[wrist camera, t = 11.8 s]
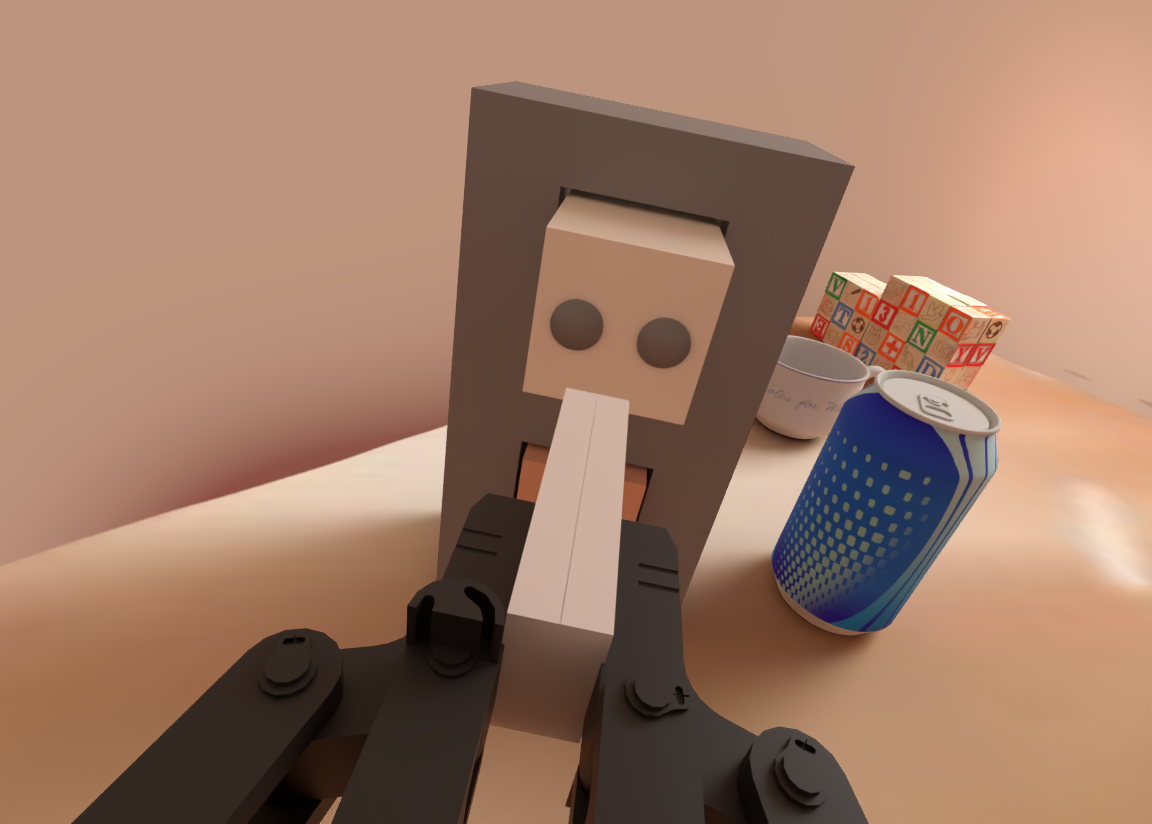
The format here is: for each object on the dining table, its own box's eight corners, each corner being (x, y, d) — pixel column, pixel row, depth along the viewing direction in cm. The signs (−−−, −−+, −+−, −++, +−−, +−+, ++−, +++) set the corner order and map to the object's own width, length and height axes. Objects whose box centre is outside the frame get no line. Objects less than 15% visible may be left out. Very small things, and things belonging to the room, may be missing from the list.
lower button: (619, 575, 31) (646, 487, 28) (507, 551, 31) (522, 461, 28) (626, 481, 38) (648, 402, 35) (535, 461, 38) (548, 381, 35)
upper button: (683, 427, 21) (735, 267, 18) (521, 392, 21) (545, 227, 18) (676, 337, 28) (713, 210, 25) (554, 312, 28) (576, 182, 25)
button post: (665, 644, 35) (854, 166, 21) (435, 595, 35) (471, 87, 21) (663, 549, 42) (805, 140, 28) (471, 508, 42) (516, 81, 28)
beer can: (740, 564, 42) (828, 367, 34) (819, 538, 46) (916, 357, 38) (830, 663, 36) (964, 453, 28) (913, 623, 40) (1052, 430, 32)
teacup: (736, 436, 57) (763, 363, 53) (732, 385, 66) (755, 320, 62) (880, 472, 56) (920, 401, 52) (856, 416, 65) (888, 351, 61)
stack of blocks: (806, 332, 86) (841, 249, 79) (840, 332, 88) (876, 252, 82) (919, 412, 69) (974, 315, 63) (957, 410, 71) (1013, 317, 65)
